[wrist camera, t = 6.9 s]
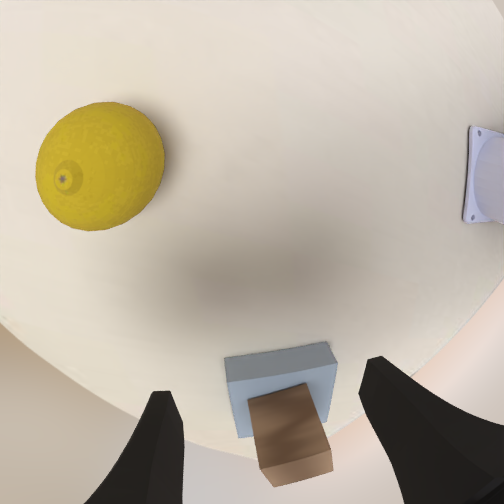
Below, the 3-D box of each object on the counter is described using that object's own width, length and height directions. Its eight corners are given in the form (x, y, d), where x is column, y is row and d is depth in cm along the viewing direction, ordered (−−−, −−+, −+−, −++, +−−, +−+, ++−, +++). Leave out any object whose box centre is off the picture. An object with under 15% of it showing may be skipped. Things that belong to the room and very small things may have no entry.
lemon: (175, 106, 14) (146, 83, 7) (173, 203, 16) (146, 262, 9) (83, 113, 14) (0, 108, 6) (85, 205, 16) (13, 259, 8)
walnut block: (306, 382, 20) (331, 449, 15) (312, 412, 22) (333, 470, 17) (247, 399, 20) (260, 469, 15) (261, 427, 22) (273, 487, 16)
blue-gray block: (324, 338, 23) (337, 362, 20) (317, 398, 26) (326, 421, 23) (224, 354, 22) (226, 382, 19) (235, 413, 25) (238, 438, 22)
